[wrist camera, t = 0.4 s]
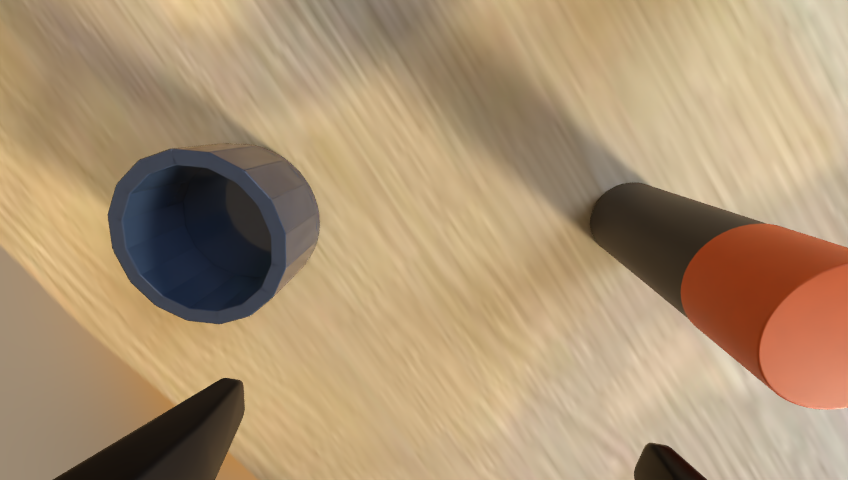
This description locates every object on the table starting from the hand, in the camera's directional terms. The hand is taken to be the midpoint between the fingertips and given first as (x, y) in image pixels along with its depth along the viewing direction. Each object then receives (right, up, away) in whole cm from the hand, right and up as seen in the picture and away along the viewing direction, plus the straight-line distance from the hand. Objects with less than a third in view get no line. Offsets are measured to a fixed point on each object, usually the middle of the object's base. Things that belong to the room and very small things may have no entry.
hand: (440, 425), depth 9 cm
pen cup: (-10, +5, +14) cm, 18 cm away
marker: (+11, +5, +13) cm, 18 cm away
